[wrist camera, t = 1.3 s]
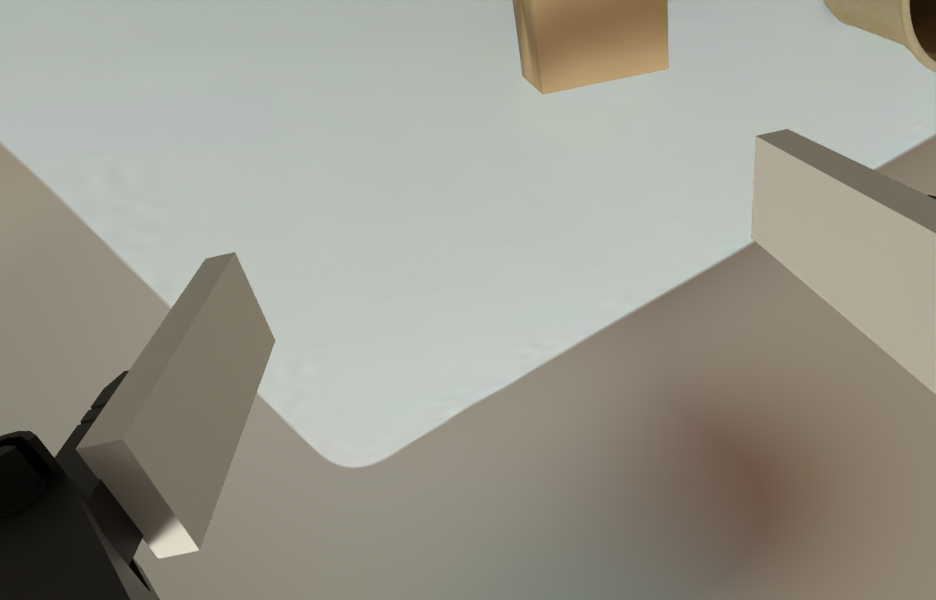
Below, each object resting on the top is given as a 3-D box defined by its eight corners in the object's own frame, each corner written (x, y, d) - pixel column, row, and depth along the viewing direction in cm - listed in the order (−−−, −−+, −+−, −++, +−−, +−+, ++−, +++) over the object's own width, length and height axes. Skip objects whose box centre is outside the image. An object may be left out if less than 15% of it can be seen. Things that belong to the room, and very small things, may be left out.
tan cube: (506, -46, 30) (525, -52, 25) (622, -70, 30) (665, -81, 25) (522, 76, 33) (542, 94, 28) (628, 54, 33) (668, 68, 28)
